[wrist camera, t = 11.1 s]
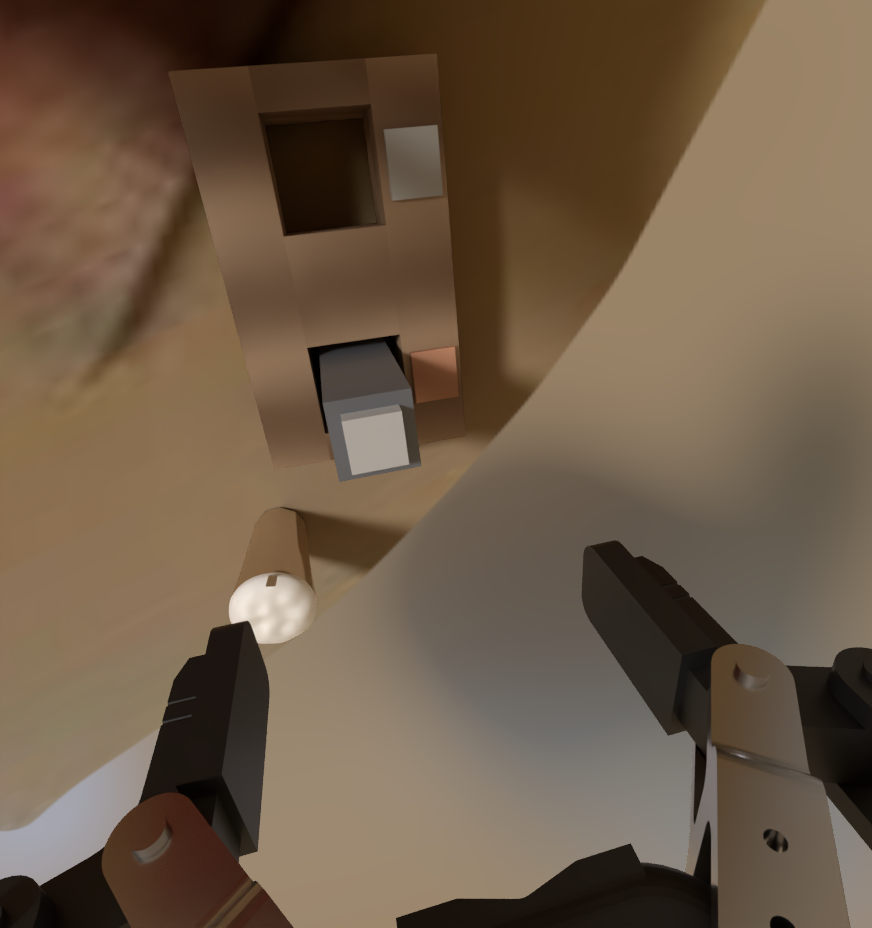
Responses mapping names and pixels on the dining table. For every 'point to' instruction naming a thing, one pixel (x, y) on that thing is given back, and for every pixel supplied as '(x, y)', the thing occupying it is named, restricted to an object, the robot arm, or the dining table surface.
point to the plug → (367, 409)
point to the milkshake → (276, 580)
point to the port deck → (330, 237)
